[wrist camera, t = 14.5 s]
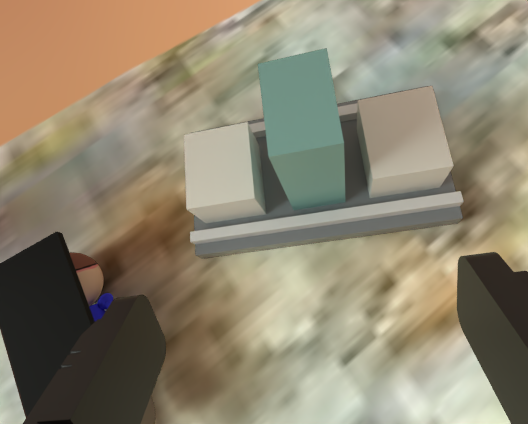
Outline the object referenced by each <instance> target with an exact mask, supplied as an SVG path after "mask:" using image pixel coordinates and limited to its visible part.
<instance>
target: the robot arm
mask: <svg viewBox="0 0 528 424" xmlns="http://www.w3.org/2000/svg"><path fill="white" fill-rule="evenodd" d="M457 312H458V318H459V322H460V325H461V328H462V330H463V332H464V334H465V336H466V338H467V340H468V342H469V344H470V346H471V348H472V350H473V352H474V354H475V355H476V357H477V359H478V361H479V363H480V365H481V367H482V369H483V371H484V373H485V375H486V376H487V378H488V380H489V382H490V384H491V386H492V388H493V390H494V392H495V394H496V396H497V397H498V399H499V401H500V403H501V405H502V407H503V409H504V411H505V413H506V415H507V416H508V418H509V420H510V422H511V424H528V272H527V271H520V272H513V271H512V270H511V268H510V267H509V266H508V265H507V264H506V262H505V261H504V260H503V259H502V258H501V257H500V255H499V254H497V253H495V252H491V253H483V254H475V255H467V256H461V257H460V258H459V260H458V280H457ZM70 352H71V353H70V355H68V356H67V357H66V359H65V360H64V362H63V363H62V365H61V369H58V371H57V372H56V374H55V375H54V377H53V378H52V380H51V381H50V383H49V384H48V386H47V388H46V389H45V391H44V392H43V394H42V395H41V397H40V398H39V400H38V401H37V403H36V404H35V406H34V407H33V409H32V410H31V412H30V413H29V415H28V416H27V418H26V419H25V421H24V423H23V424H141V421H142V418H143V416H144V413H145V410H146V408H147V405H148V402H149V400H150V397H151V394H152V391H153V389H154V386H155V383H156V381H157V378H158V375H159V373H160V370H161V367H162V365H163V362H164V359H165V354H166V342H165V337H164V335H163V332H162V330H161V328H160V325H159V323H158V321H157V318H156V316H155V314H154V312H153V309H152V307H151V305H150V302H149V300H148V299H147V297H146V296H144V295H138V296H130V297H122V298H116V299H114V300H113V301H112V302H111V304H110V305H109V307H108V309H107V310H106V312H105V313H104V315H103V317H102V318H101V319H98V320H97V321H95V322H94V323H93V324H92V325H91V326H90V327H89V328H88V329H87V330H86V331H85V332H84V333H82V334H81V336H80V337H79V339H78V340H77V342H76V343H75V345H74V346H73V348H72V349H71V351H70Z"/></svg>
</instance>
